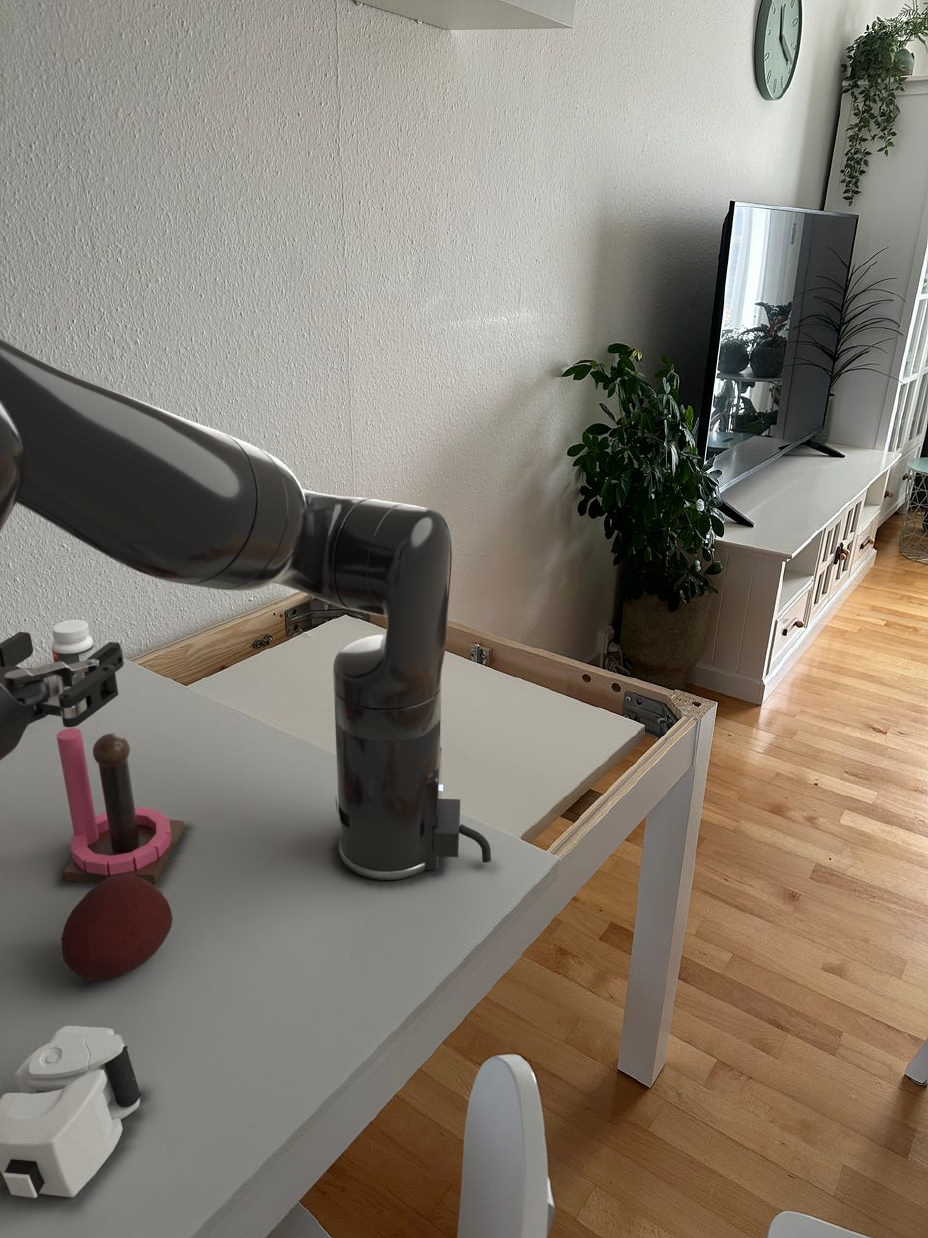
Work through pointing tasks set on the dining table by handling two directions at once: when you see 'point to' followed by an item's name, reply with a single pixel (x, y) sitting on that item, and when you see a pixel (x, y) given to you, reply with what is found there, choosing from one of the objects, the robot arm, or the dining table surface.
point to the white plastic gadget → (66, 1112)
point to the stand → (121, 815)
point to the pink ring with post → (102, 816)
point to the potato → (115, 928)
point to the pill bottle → (72, 644)
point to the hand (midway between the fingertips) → (72, 646)
